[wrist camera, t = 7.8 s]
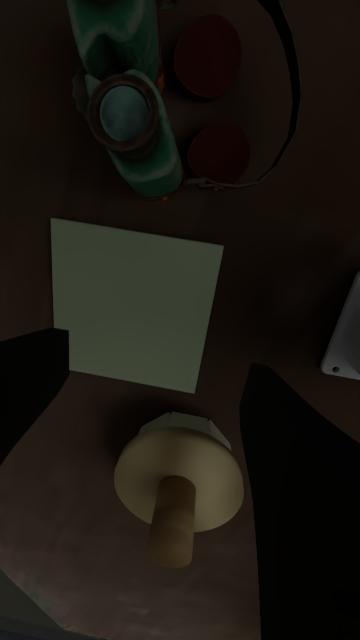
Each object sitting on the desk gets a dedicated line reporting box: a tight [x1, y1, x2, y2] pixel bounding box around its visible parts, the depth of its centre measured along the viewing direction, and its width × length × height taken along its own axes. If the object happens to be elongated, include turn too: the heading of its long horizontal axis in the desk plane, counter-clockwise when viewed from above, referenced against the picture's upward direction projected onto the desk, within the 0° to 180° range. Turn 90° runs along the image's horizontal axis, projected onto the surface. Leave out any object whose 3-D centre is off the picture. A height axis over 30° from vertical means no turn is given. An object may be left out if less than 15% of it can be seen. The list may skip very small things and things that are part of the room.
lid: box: [114, 426, 244, 569], centre depth 20 cm, size 10×10×6 cm
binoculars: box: [66, 0, 303, 201], centre depth 12 cm, size 9×11×10 cm
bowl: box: [138, 411, 231, 451], centre depth 24 cm, size 8×8×3 cm
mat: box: [51, 218, 224, 393], centre depth 21 cm, size 12×12×1 cm
